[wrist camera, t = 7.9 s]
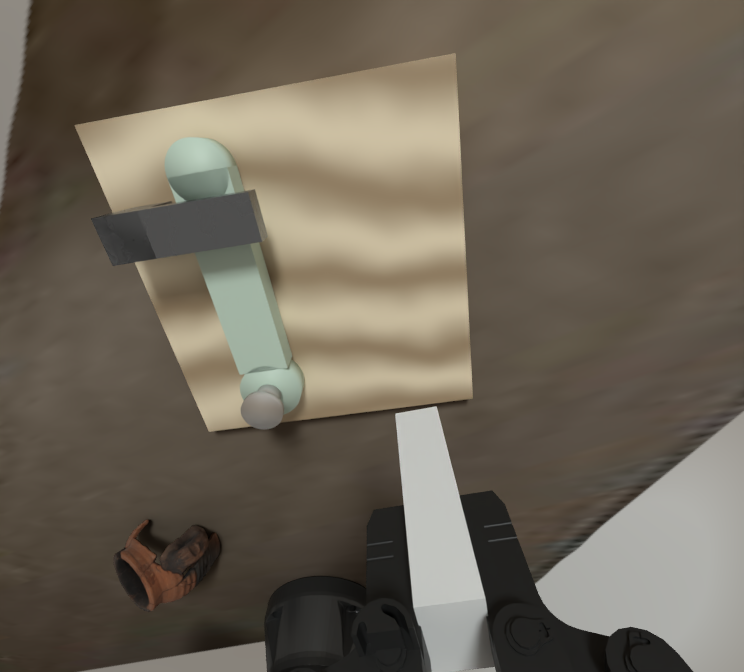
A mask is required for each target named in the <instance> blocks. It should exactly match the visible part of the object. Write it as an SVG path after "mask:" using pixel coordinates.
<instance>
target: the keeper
mask: <svg viewBox="0 0 744 672" xmlns="http://www.w3.org/2000/svg"><path fill="white" fill-rule="evenodd" d="M91 220H92V222H93V224H94V226H95V228H96V231H97V233H98V235H99V237H100V239H101V241H102V243H103V246H104V248H105V250H106V252H107V254H108V256H109V259H110V261H111V263H112V265H113V266H115V265H121V264H127V263H133V262H140V261H146V260H152V259H158V258H165V257H171V256H177V255H183V254H190V253H196V252H202V251H208V250H214V249H221V248H227V247H233V246H239V245H246V244H252V243H258V242H263V241H264V240H265V239H266V238H267V237H268V235H267V231H266V228H265V224H264V220H263V217H262V213H261V209H260V206H259V202H258V198H257V195H256V191H255V189H253V190H247V191H242V192H236V193H230V194H224V195H218V196H212V197H206V198H201V199H195V200H189V201H183V202H177V203H172V201H168V202H162V203H157V204H151V205H145V206H139V207H133V208H129V209H125V210H121V211H118V212H114V213H110V214H107V215H103V216H99V217H95V218H92V219H91Z"/></svg>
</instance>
